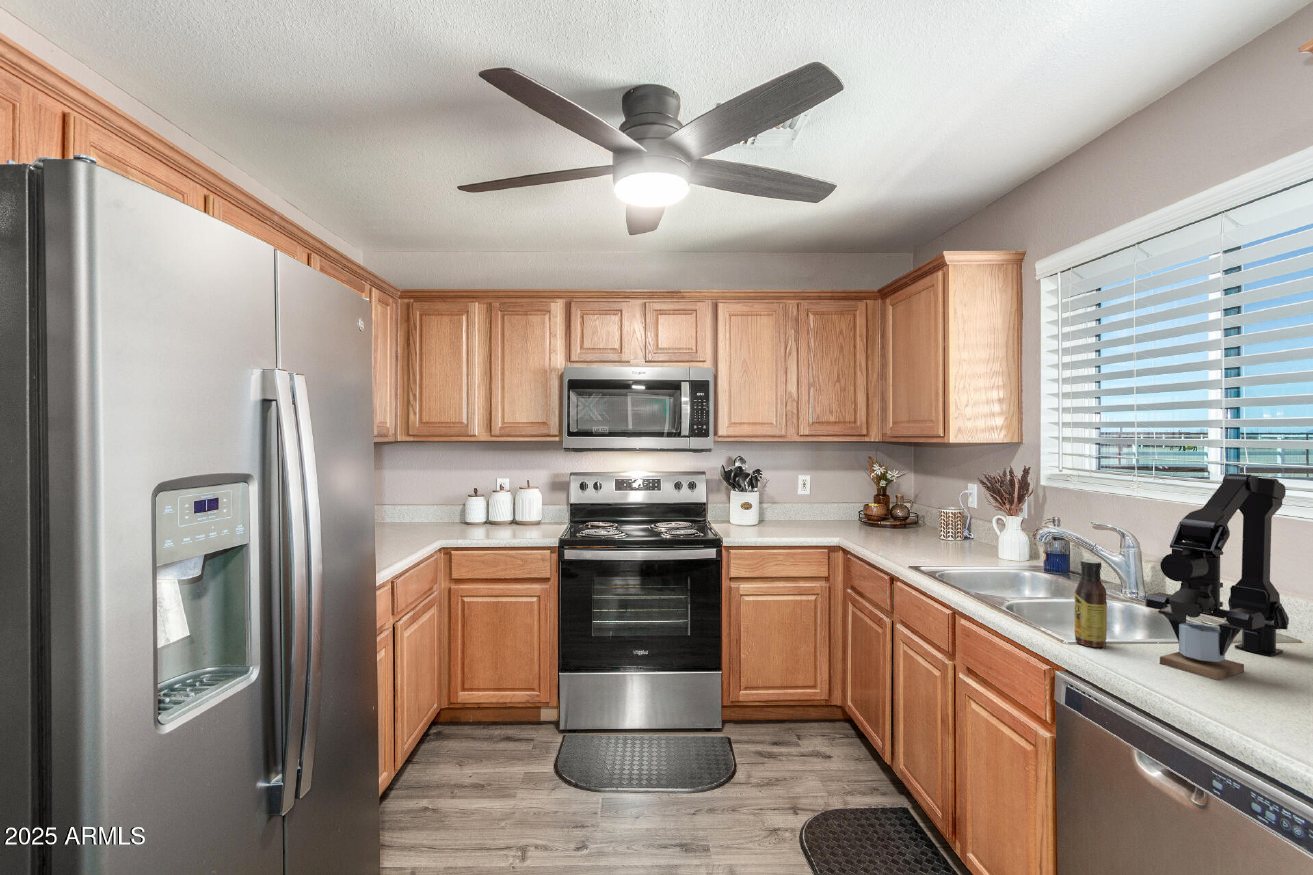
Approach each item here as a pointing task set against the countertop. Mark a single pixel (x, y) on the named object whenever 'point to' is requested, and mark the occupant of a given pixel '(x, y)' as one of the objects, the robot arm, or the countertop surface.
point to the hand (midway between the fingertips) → (1201, 649)
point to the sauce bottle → (1090, 606)
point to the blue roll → (1200, 641)
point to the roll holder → (1202, 666)
